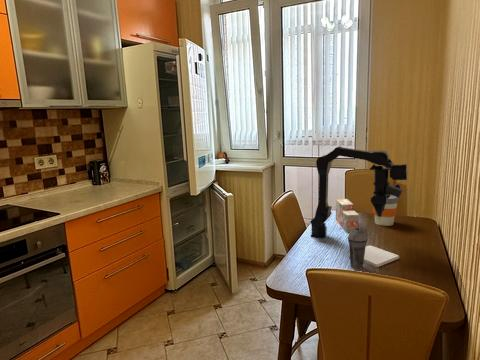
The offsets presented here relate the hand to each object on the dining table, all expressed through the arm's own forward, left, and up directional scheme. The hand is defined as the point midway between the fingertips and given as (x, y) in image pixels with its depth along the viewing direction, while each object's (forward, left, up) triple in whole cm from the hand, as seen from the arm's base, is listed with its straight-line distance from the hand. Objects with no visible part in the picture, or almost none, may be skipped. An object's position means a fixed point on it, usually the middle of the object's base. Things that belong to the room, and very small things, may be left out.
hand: (381, 213), depth 154 cm
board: (-1, -16, -14) cm, 21 cm away
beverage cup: (-6, -28, -15) cm, 32 cm away
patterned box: (-18, +21, -15) cm, 32 cm away
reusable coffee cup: (0, +32, -15) cm, 35 cm away
